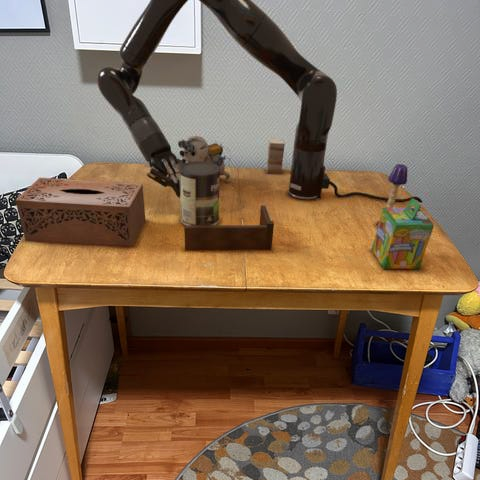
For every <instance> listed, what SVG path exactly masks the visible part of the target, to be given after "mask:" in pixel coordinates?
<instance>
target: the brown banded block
mask: <svg viewBox="0 0 480 480" xmlns="http://www.w3.org/2000/svg"><path fill="white" fill-rule="evenodd" d="M285 143H286V142H285V140H284V139H279V138H269V139H268V145H267V154H266V156H267V158H266V163H265V164H266V166H265V172H266V174H276V175H281V174H282V170H283V169H282V168H283V162H284V161H283V159H284V155H285V154H284V153H285V145H286V144H285Z"/></svg>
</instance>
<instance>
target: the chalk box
mask: <svg viewBox="0 0 480 480" xmlns="http://www.w3.org/2000/svg"><path fill="white" fill-rule="evenodd" d="M412 206H413V207H412ZM379 220H380V221H379ZM379 220H378V221H379V224H378V227H377V228H376V232H375V236H374V239H373V243H372V247H371V252H372V253H373V255H374V256H375V258H376V260H377V261H378V263H379V264H380V266H381V267H382V269H383V270H396V269H397V270H420V268H421V265H422V262H423V259H424V256H425V253H426V250H427V247H428V245H429V241H430V239H431V236H432V233H433V230H434V226H435V225H434V223H433V222H432V220H431V219H430V218H429V217H428V216H427V214H425V212H424V211H423V210H421V204H420V203H419V202H418V201H417V200H414V199H413V198H412V199H411V200H410V201H408V204H407V205H406V207H393V208H386V206H384V207H382V210H381V213H380V217H379Z"/></svg>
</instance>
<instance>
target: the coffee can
mask: <svg viewBox="0 0 480 480" xmlns="http://www.w3.org/2000/svg"><path fill="white" fill-rule="evenodd" d="M179 172H180V198H179V201H180V202H179V203H180V222H181V223H182V225H219V222H220V179H221V177H220V167H219V166H218V165H216V164H213V163H209V162H202V161H195V162H187V161H186V163H184V164H182V165H180V166H179Z"/></svg>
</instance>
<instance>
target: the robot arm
mask: <svg viewBox="0 0 480 480" xmlns="http://www.w3.org/2000/svg"><path fill="white" fill-rule="evenodd" d="M188 1H189V0H150V1H149V2H148V4H147V6H145V8H144V10H143V11H142V13H141V14H140V15H139V17H138V18H137V20H136V21H135V23H134V24H133V26H132V28H131V29H130V31H129V33H128V34H127V35H126V37H125V39H124V41H123V43H122V44H121V46H120V48H119V52H118V55H119V57H120V59H121V61H122V62H121V65H120V67H119V68H117V67H113V66H104V67H101V69H99V71H98V72H97V75H96V83H97V87H98V90H99V92H100V94H101V95H102V97H103V98H104V99H105V101H107V103H108V104H109V105H110V106H111V108H112V109H113V110H114V111H115V112H116V113H117V114H118V115H119V116H120V118H121V119H122V121H123V122H124V124H125V126H126V128H127V129H128V131H129V133H130V135H131V137H132V140H133V142H134V143H135V145H136V146H137V148H138V150H139V151H140V153H141V155H142V156H143V158H144V160H145V161H146V162H147V163H148V165H149V168H150V169H149V170H148V172H147V174H146V176H147V177H148V178H149V179H150V180H152V181H154V182H156V183H158V184H159V185H161V186H162V187H164V188H167V187H170V188H172V190H173V192H174V193H175V195H176V197H177V198H178V199H180V172H179V166H180V165H182V164H184V163H187V161H186V160H185V159H183V158H182V159H179V158H177V155H175V154H174V153H173V151H172V147H171V144H170V143H169V141H168V139H167V137H166V136H165V134H164V133H163V130H162V129H161V127H160V126H159V124H158V123H157V121H156V120H155V119H154V118H153V116H152V114H151V112H150V111H149V109H148V108H147V106H146V105H145V103H144V102H143V100H141V99H140V98H139V97H137V96H135V95H134V94H135V93H136V92H137V90H138V87H139V85H140V82H141V79H142V76H143V74H144V70H145V67H146V66H147V65H148V63H149V62H150V60H151V58H152V57H153V55H154V53H155V52H156V50H157V48H158V47H159V45H160V44H161V42H162V40H163V38H164V37H165V34H166V32H167V31H168V30H169V27H170V25H171V24H172V22H173V20H174V19H175V18H176V16H177V15H178V13H180V11H181V10H182V8H183V7H184V6H185V5H186V4H187V2H188ZM198 1H199V2H200V3H202V4H203V5H204V6H205V7H206V8H207V9H208V10H209V11H210V12H211V13H212V14H213V15H214V16H215V17H216V18H217V20H218V21H219V22H220V24H221V25H222V26H223V28H224V29H225V30H226V32H227V33H228V34H229V35H230V37H232V39H233V40H234V41H235V42H236V44H237V45H239V46H240V47H241V48H242V49H243V50H244V51H245V52H246V53H247V54H248V55H250V56H251V57H252V58H253V59H254V60H255V61H257V62H258V63H259V64H260V65H262V66H263V67H265V68H266V69H268V70H269V71H271V72H273V73H274V74H276V75H277V76H278V77H279V78H280V79H282V80H283V81H284V83H286V85H287V86H288V87H289V88H290V89H291V90H292V92H293V93H294V94H295V95H296V96H297V97H298V100H300V102H301V103H300V104H301V105H300V111H299V119H298V123H297V124H296V126H295V130H294V131H295V133H294V140H293V141H294V142H293V151H292V159H291V168H290V178H289V185H288V191H287V194H288V196H289V197H291V198H293V199H296V200H299V201H313V200H316V199H317V200H318V199H321V198H322V191H323V190H329V188H330V186H331V187H332V188H333V193H334V196H335V197H337V198H349V197H352V196H359V197H365V198H368V199H372V200H377V201H382V202H383V201H384V202H388V200H389V198H390V197H385V196H379V195H373V194H370V193H366V192H361V191H360V192H359V191H352V192H348V193H345V194H340V193H339V192H338V186H337V185H336V184H335V183H334V182H332V181H331V179H330V177H329V175H328V174H327V173H326V165H325V157H326V151H327V144H328V139H329V133H330V131H331V129H332V125H333V121H334V116H335V111H336V104H337V97H338V88H337V85H336V83H335V81H334V80H333V78H332V77H330V75H327V73H326V72H324V71H322V70H320V69H319V68H317V67H316V66H315V65H314V64H312V63H311V62H310V61H308V60H307V59H306V58H305V57H304V56H303V55H301V53H300V52H299V51H298V50H297V49H296V48H295V46H294V45H293V43H292V42H291V41H290V39H289V37H288V36H287V35H286V34H285V32H284V31H283V30H282V29H281V27H279V25H278V24H277V23H276V22H275V21H274V20H273V19H272V18H271V17H270V16H269V15H268V14H267V13H266V12H265V11H264V10H263V9H262V8H260V7H259V6H258V5H257V4H256V3H255V2H254V1H253V0H198ZM412 198H413V199H414V200H415V201H416V202H417V203H419V204H422V203H423V200H422V198H421V197H418V196H410V197H407V198H395V203H406V202H410V200H411V199H412Z"/></svg>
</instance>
